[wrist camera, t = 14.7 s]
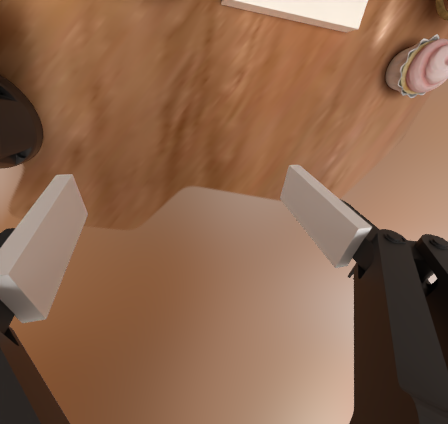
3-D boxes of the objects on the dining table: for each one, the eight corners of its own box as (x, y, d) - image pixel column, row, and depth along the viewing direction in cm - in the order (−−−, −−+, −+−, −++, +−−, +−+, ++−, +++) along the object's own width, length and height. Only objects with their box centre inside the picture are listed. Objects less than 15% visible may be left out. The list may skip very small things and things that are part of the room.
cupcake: (432, 39, 40) (499, 28, 32) (409, 95, 45) (462, 99, 37) (388, 38, 39) (446, 26, 30) (370, 96, 44) (416, 101, 35)
